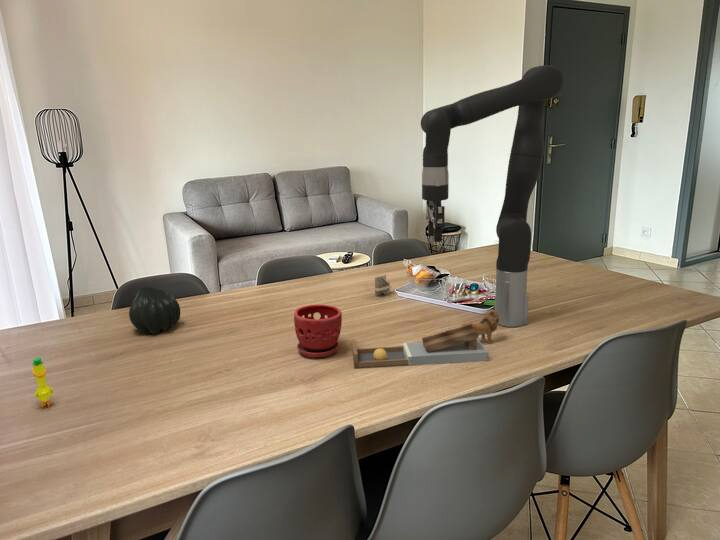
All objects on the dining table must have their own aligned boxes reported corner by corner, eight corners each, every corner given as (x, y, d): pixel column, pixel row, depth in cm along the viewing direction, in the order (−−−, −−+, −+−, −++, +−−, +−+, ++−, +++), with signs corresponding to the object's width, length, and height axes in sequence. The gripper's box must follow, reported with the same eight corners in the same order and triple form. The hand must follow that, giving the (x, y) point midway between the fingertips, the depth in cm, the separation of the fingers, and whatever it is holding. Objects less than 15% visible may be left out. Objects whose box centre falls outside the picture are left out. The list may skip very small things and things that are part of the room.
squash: (192, 313, 171) (170, 274, 174) (146, 328, 160) (124, 286, 164) (179, 333, 180) (159, 295, 184) (136, 348, 170) (115, 308, 173)
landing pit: (403, 351, 150) (402, 338, 149) (408, 365, 142) (407, 351, 141) (352, 354, 149) (351, 340, 148) (354, 368, 141) (353, 354, 140)
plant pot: (306, 365, 144) (304, 322, 141) (289, 348, 155) (286, 308, 152) (351, 354, 150) (349, 313, 146) (331, 339, 161) (329, 300, 158)
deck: (477, 347, 152) (477, 339, 151) (487, 360, 143) (487, 352, 142) (403, 351, 150) (402, 343, 150) (408, 365, 142) (407, 356, 141)
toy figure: (35, 401, 129) (25, 355, 126) (52, 396, 131) (43, 350, 128) (39, 412, 124) (29, 364, 121) (57, 407, 126) (47, 360, 123)
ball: (384, 364, 144) (390, 352, 144) (381, 364, 141) (387, 351, 141) (372, 358, 145) (378, 346, 146) (369, 358, 142) (375, 345, 142)
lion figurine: (491, 335, 160) (492, 306, 157) (503, 341, 155) (504, 311, 153) (449, 345, 153) (449, 315, 151) (460, 352, 149) (461, 321, 146)
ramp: (472, 341, 149) (473, 323, 148) (478, 350, 144) (478, 331, 142) (421, 344, 148) (421, 326, 147) (425, 353, 143) (425, 334, 142)
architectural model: (392, 295, 200) (392, 276, 199) (378, 300, 196) (378, 280, 194) (386, 293, 203) (386, 274, 201) (372, 297, 199) (372, 278, 197)
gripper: (417, 180, 161) (418, 234, 165) (426, 186, 147) (426, 244, 152) (442, 179, 161) (442, 233, 166) (454, 184, 148) (453, 243, 152)
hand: (434, 238), depth 159 cm, fingers open, 8 cm apart
